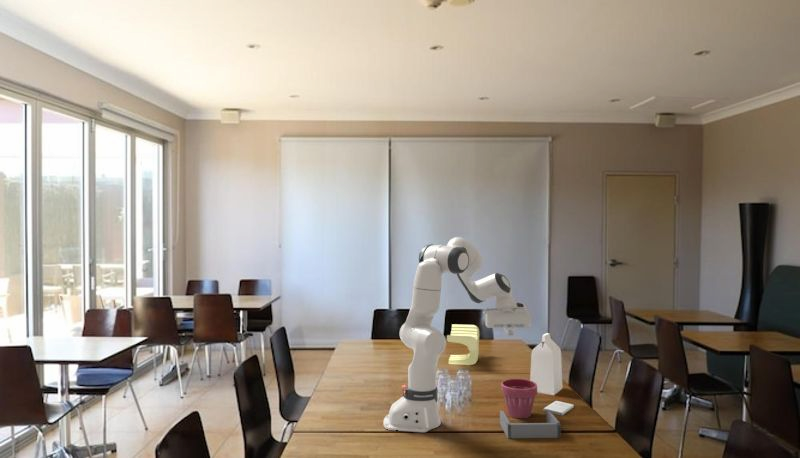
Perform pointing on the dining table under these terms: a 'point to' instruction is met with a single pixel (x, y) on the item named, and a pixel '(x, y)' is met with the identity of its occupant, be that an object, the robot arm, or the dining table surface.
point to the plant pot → (519, 396)
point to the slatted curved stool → (465, 343)
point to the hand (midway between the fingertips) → (510, 334)
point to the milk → (546, 366)
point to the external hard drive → (559, 407)
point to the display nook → (532, 428)
